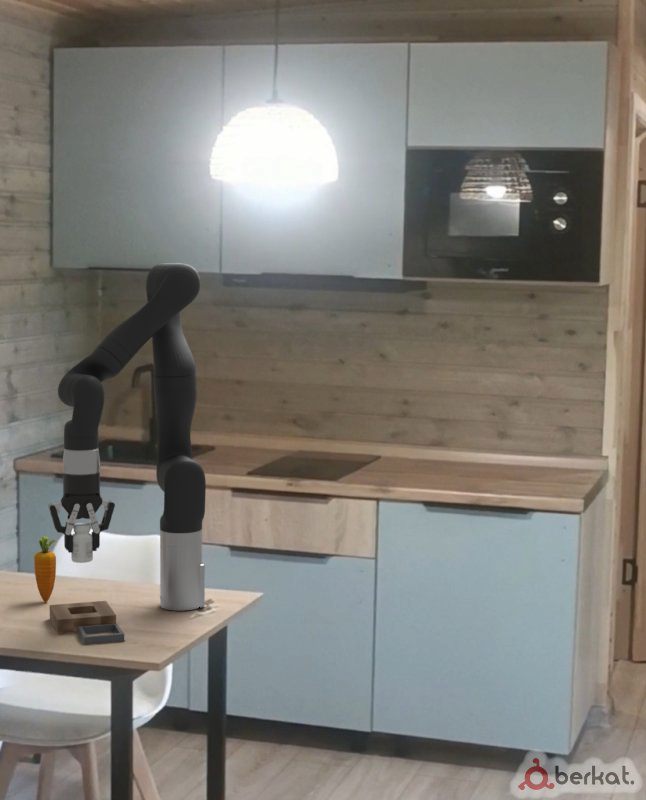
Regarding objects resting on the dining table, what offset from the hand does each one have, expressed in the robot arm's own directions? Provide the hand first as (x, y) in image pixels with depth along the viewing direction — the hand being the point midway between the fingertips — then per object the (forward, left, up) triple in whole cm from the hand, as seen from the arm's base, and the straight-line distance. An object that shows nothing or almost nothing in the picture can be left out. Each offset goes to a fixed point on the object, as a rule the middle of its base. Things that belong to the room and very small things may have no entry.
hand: (81, 550), depth 277 cm
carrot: (+5, -20, -16) cm, 26 cm away
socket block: (0, 0, -16) cm, 16 cm away
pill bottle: (0, 0, -2) cm, 2 cm away
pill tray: (-2, +11, -16) cm, 19 cm away
